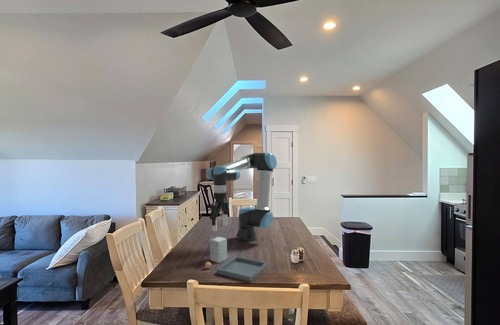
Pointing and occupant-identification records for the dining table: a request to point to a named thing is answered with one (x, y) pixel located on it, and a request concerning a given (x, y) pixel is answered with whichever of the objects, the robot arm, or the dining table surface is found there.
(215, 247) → the supplement box
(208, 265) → the mixing ball
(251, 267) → the tray
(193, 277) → the dining table surface
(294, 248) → the dining table surface
